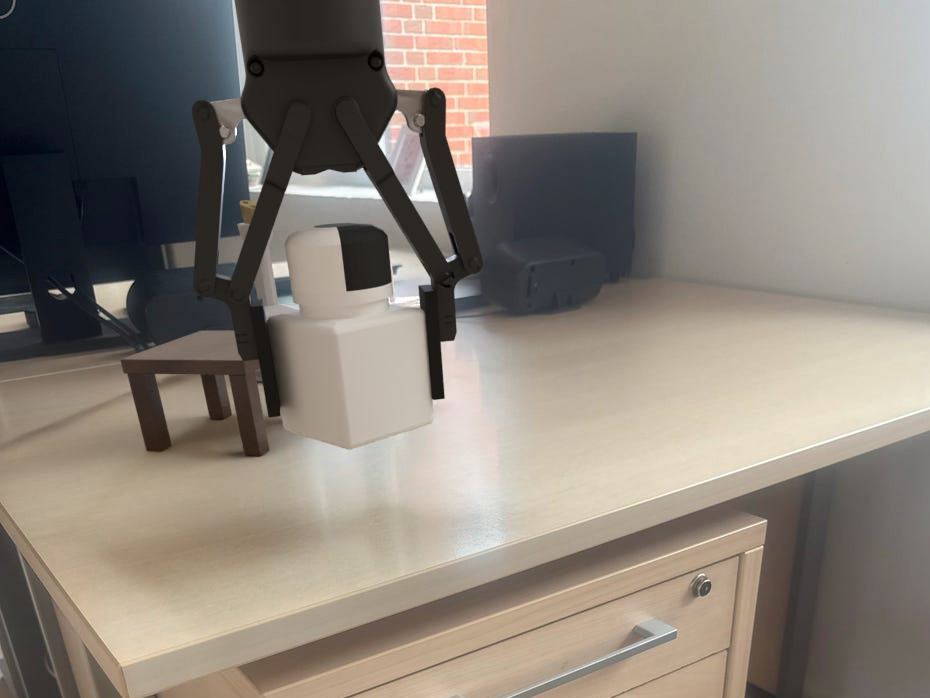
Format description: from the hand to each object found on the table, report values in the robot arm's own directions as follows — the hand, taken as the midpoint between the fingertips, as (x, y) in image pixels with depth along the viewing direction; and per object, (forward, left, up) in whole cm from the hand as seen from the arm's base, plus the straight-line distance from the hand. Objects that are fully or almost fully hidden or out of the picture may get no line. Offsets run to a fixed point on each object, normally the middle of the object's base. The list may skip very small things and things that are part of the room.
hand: (356, 402), depth 58 cm
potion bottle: (-30, +40, -8) cm, 51 cm away
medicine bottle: (0, 0, -2) cm, 2 cm away
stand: (-22, +18, -8) cm, 29 cm away
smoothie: (-9, +28, -8) cm, 30 cm away
